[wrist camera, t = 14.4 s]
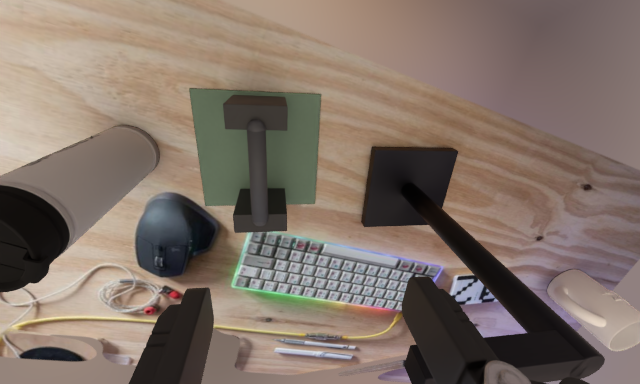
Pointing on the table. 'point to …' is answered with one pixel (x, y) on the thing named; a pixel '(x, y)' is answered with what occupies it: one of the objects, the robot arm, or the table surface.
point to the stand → (471, 266)
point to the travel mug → (66, 198)
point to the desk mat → (232, 148)
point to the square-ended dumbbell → (258, 161)
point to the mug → (597, 309)
